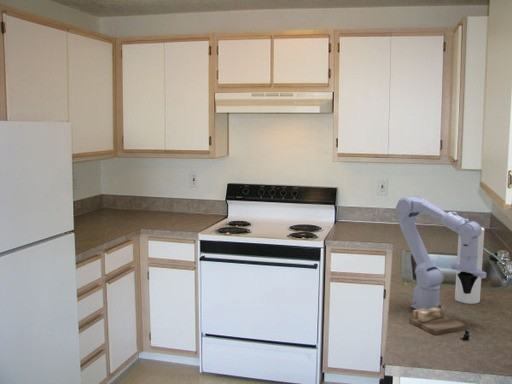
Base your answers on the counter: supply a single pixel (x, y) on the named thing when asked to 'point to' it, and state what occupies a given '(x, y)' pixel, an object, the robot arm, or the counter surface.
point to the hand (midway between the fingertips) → (467, 293)
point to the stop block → (415, 313)
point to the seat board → (439, 325)
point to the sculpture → (466, 336)
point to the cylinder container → (475, 292)
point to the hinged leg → (431, 313)
